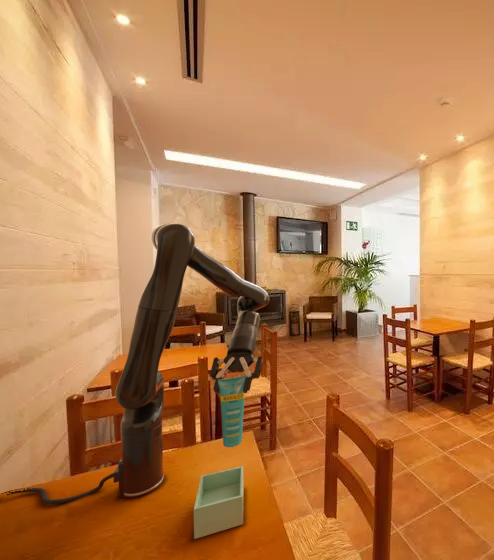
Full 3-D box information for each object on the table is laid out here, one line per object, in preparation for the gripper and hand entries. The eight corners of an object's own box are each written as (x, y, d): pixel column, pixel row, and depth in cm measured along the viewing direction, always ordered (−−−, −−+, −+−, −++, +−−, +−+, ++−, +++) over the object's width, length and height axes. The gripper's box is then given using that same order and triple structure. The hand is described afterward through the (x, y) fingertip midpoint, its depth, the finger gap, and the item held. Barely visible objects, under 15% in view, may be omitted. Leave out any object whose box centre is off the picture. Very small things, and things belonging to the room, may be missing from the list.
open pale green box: (194, 539, 69) (193, 509, 68) (201, 501, 80) (201, 475, 80) (243, 524, 73) (242, 496, 73) (243, 490, 84) (243, 465, 84)
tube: (219, 451, 82) (218, 382, 82) (217, 442, 86) (216, 377, 86) (248, 442, 87) (248, 377, 86) (245, 435, 91) (245, 372, 90)
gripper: (216, 334, 92) (199, 388, 81) (265, 334, 94) (255, 386, 82) (222, 347, 97) (207, 399, 86) (269, 346, 99) (260, 396, 88)
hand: (231, 392), depth 84 cm, fingers closed on tube, 7 cm apart
